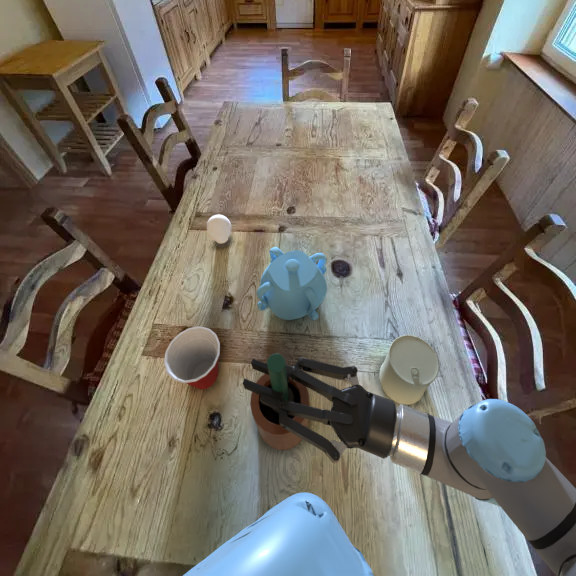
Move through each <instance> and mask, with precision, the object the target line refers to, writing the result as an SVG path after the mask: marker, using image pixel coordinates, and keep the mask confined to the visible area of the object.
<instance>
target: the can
mask: <svg viewBox="0 0 576 576" xmlns="http://www.w3.org/2000/svg"><path fill="white" fill-rule="evenodd" d="M439 372H440V361H439V357H438V355H437V353H436V351H435V349H434V348H433V347H432V346H431V345H430V344H429V343H428V342H427V341H426V340H425V339H423V338H421V337H419V336H416V335H412V334H403V335H399V336H397V337H396V338H395V339H394V340H393V341H392V342H391V344H389V348H388V352H387V353H386V356H385V359H384V361H383V362H382V364H381V366H380V368H379V374H378V377H379V378H378V379H379V383H380V386H381V388H382V390H383V391H384V393H385V394H386V395H387V396H388V397H389V399H390V400H392V401H394V403H398V404H403V405H406V406H408V405H414V404H416V403H418V402H419V401H420V400H421V399H422V397H423V395H424V393H425V392H426V390H427V389H428V388H429V386H430V385H431V384H433V382H434V381H435V380H436V379H437V378H438V375H439Z"/></svg>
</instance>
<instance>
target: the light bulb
mask: <svg viewBox="0 0 576 576" xmlns="http://www.w3.org/2000/svg"><path fill="white" fill-rule="evenodd" d="M232 230H233V229H232V223H231V221H230V219H229V218H228V217H227V216H225V215H223V214H220V213H219V214H214V215H212V216H211V217H209V218H208V220H207V222H206V232H207V235H208V236H209V238H210V239H211V240H213V241H215V245H216V246H217V247H218V248H225V247H228V246H229V245H230V243H231V238H230V236H231V234H232Z"/></svg>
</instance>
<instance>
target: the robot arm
mask: <svg viewBox="0 0 576 576" xmlns="http://www.w3.org/2000/svg"><path fill="white" fill-rule="evenodd" d="M250 365H251V368H252V370H255V371H257V372H259V373H262V374H267V375H269V372H268V367H267V362H263V361H260V360H259V359H255V358H252V359H251V362H250ZM285 365H286V374H287V382H288V381H289V378H290V377H291V379H292V380H295V381H297V382H299V383H301V384H302V385H304V386H306V387H307V389H310V390H311V391H313V392H315V393H317V394H318V395H320V396H322V397H325V398H326V399H327V400H328V401H329V402H332V406H331V409H322V408H318V407H314V406H310V405H309V406H306V405H302V404H298V403H294V402H290V401H286V400H284V399H283V397H282V393H280V392H276V391H275V390H272V389H270V388H267V387H265V386H262V385H260V384H257V383H256V382H254V381H252V380H250V379H247V378H244V379H243V381H242V386H243V389H244V390H246V391H249V392H251V393H252V392H254V393H256V394H259V395H261V397H260V401H261V402H262V403H263V404H264V405H267V406H269V407H271V408H274V409H276V410H278V411H279V422H280V426H281V427H283V428H284V429H286V430H288V431H289V432H291V433H293V434H294V435H296V436H298V437H300V438H301V439H302V441H304V442H306V443H308V444H310V445H311V446H313V447H314V448H317V449H318V450H320V451H322V452H323V453H324V454H325V455H326V457H327V458H328V459H329V460H330V461H331V462H332V463H333V464H338V462H339V460H340V458H341V457H342V455H343V454H344V452H345V451H346V449H359V450H362V451H364V452H366V453H369V454H372V455H373V456H376V457H378V458H381V459H383V460H385V459H387V458H390V461H391V463H393V464H395V465H398V466H400V467H402V468H405V469H407V470H410V471H412V472H414V473H417V474H419V475H422V476H425V477H427V478H430V479H431V480H434V481H437V482H439V483H441V484H443V485H446V486H448V487H450V488H453V489H455V490H457V491H459V492H462V493H464V494H466V495H469V496H471V497H472V498H474V499H475V500H477V501H480V502H484V503H488V504H491V505H494V506H497V507H500V508H501V509H502V511H503V512H504V513H505V514H506V515H507V517H508V518H509V519H510V520H511V521H512V523H513V524H514V526H515V527H516V528H517V529H518V530H519V532H520V533H521V534H522V536H523V537H524V538H525V539H526V540H527V542H528V543H529V544H530V545H531V546H532V548H533V549H534V551H536V553H537V554H538V555H539V556H540V558H541V559H542V560H543V561H544V563H545V564H546V565H547V567H549V569H550V570H551V571H552V573H553V574H554V575H555V576H576V487H575V486H574V485H573V484H572V483H571V482H570V481H569V480H568V479H567V477H566V476H565V475H563V473H561V471H560V470H559V469H558V468H557V467H556V466H555V465H554V464H553V463H552V462H551V460H549V459H548V458H547V451H546V445H545V441H544V439H543V438H542V436H541V434H540V432H539V430H538V428H537V426H536V424H535V422H534V421H533V420H532V419H531V418H530V417H529V416H528V414H527V413H525V412H524V411H523V410H522V409H521V408H520V407H518V406H516V405H515V404H513V403H510V402H508V401H506V400H503V399H499V398H487V399H484V400H481V401H479V402H477V403H475V404H473V405H470V406H469V407H467V409H465V410H464V411H463V412H462V413H461V414H460V415H459V416H458V417H457V418H455V420H454V421H452V422H451V421H448V420H446V419H443V418H440V417H437V416H435V415H432V414H430V413H427V412H424V411H421V410H419V409H417V408H414V407H411V406H408V405H405V404H400V403H398V405H396V402H395V401H394V400H392V399H390V398H387V397H384V396H381V395H379V394H376V393H374V392H370V391H368V390H367V389H366V388H365V387H364V386H363V385H361V384H360V382H359V381H360V380H359V378H358V371H359V369H358V368H357V366H355V365H351V366H338V365H335V364H331V363H327V362H322V361H319V360H314V359H310V358H306V357H299V358H298V359H297V361H296V363H294V365H289V364H286V363H285ZM309 373H310V374H309ZM311 374H315V375H319V376H323V377H327V378H329V379H335V380H339V381H344V382H345V383H346V384H349V385H351V386H348V387H345V388H341V389H339V388H338V387H335V386H333V385H330V384H328V383H326V382H324V381H322V380H320V379H319V378H317V377H315V376H313V375H311ZM287 414H289V415H293V416H297V417H301V418H305V419H309V421H313V422H317V423H321V424H323V425H326V426H329V427H331V429H332V430H333V432H334V433H335V434H336V436H337V438H338V439H339V441H337V440H335V439H332V440H331V441H330V440H329V439H327V438H326V437H325V436H323V435H322V434H319V433H317V432H316V431H314V430H312V429H310V428H309V427H308V428H307V427H305V426H304V425H302V424H300V423H298V422H297V421H295V420H293V419H291V418H290V417H288V416H287ZM182 576H375V575H374V572H373V570H372V567H371V566H370V565H369V564H368V562H367V560H366V558H365V557H364V555H363V553H362V551H360V550H359V549H358V548H357V547H355V546H354V545H353V543H352V542H351V540H350V538H349V537H348V535H347V533H346V532H345V530H344V529H343V527H342V525H341V523H340V522H339V521H338V518H337V516H336V515H335V514H334V512H333V510H332V508H331V507H330V505H328V504H327V503H326V502H325V500H323V498H321V497H320V496H318V495H316V494H314V493H311V492H306V491H305V492H297V493H295V494H292V495H291V496H288V497H286V498H285V499H283V500H282V501H280V502H278V503H277V504H276V505H274V506H272V507H271V508H270V509H268V511H266V512H265V513H264V514H263V515H261V517H259V518H258V519H257V520H256V521H254V522H253V523H250V524H249V525H248V526H245V527H244V528H243V529H242V530H240V531H238V532H237V533H236V534H235V535H233V536H232V537H231V538H229V539H228V540H227V541H225V542H224V543H223V544H222V545H220V546H219V547H217V548H216V549H215V550H213V552H211V553H210V554H209V555H208V556H206V557H205V558H204V559H203V560H201V561H200V562H198V563H197V564H195V565H194V566H192V567H191V569H189V570H188V571H186V573H184V574H183V575H182Z"/></svg>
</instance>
